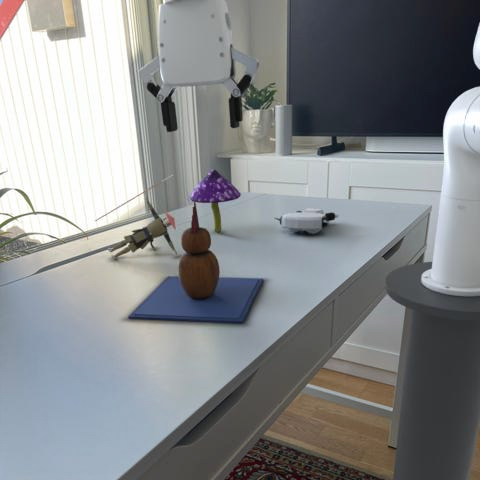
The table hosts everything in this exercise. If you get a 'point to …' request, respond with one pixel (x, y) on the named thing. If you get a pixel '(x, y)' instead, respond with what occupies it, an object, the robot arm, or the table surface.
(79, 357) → the table surface
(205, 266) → the wooden figurine
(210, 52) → the robot arm
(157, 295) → the blue square tray
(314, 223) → the robot toy
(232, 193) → the decorative mushroom
